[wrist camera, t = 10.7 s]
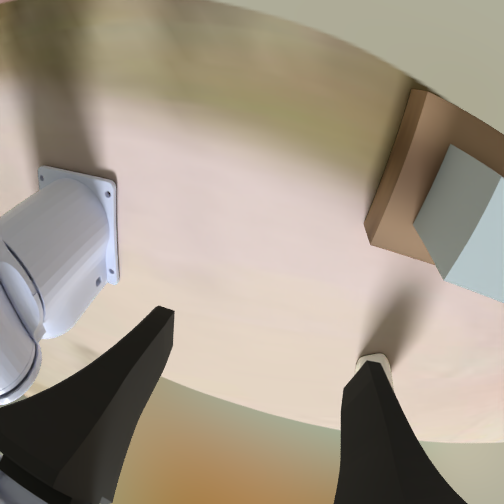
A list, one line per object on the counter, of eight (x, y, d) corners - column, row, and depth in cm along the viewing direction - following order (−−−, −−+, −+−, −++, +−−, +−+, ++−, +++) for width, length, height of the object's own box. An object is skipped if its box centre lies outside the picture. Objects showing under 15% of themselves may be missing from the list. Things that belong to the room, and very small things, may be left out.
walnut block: (465, 256, 19) (481, 280, 16) (362, 220, 19) (370, 244, 16) (515, 147, 14) (540, 161, 11) (409, 88, 14) (427, 91, 11)
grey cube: (473, 251, 15) (508, 304, 11) (412, 224, 15) (443, 280, 11) (510, 181, 12) (559, 222, 8) (450, 143, 12) (501, 176, 8)
